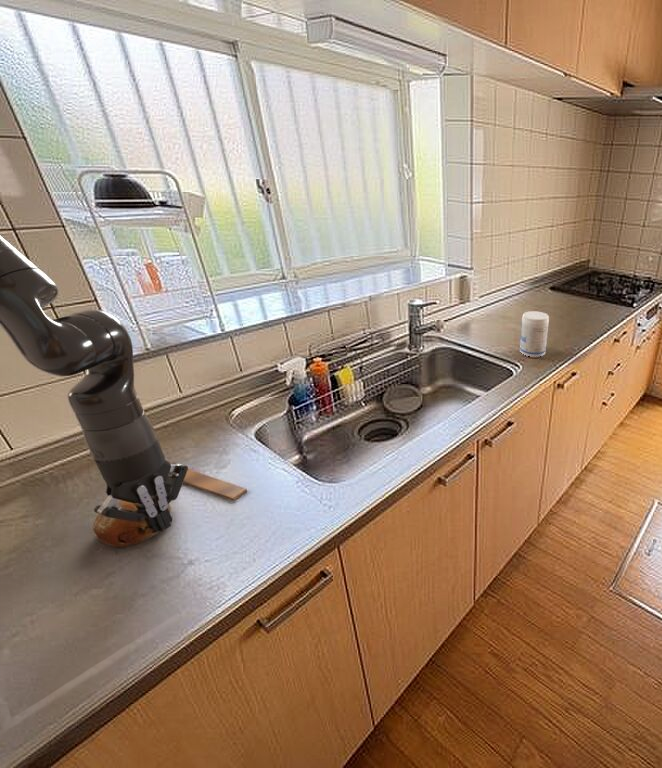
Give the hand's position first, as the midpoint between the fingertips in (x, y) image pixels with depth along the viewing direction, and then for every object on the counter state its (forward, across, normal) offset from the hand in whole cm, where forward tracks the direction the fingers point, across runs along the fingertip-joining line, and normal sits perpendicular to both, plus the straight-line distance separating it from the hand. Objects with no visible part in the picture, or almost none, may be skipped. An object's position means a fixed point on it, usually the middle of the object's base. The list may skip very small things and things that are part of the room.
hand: (162, 527), depth 71 cm
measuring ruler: (+2, -12, -9) cm, 15 cm away
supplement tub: (+2, -107, +34) cm, 112 cm away
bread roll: (+2, 0, -6) cm, 7 cm away
